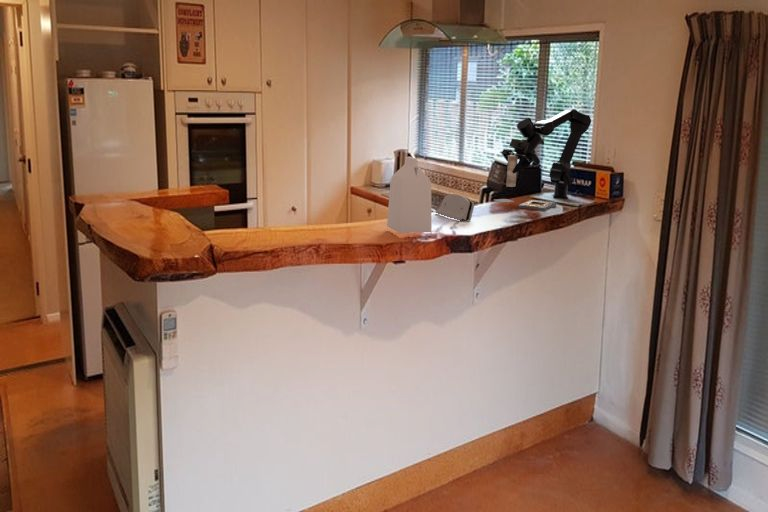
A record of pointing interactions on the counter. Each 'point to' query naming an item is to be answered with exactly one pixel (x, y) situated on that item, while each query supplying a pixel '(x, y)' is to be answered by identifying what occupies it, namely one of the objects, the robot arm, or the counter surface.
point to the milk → (409, 199)
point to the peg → (510, 175)
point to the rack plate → (537, 205)
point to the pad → (503, 200)
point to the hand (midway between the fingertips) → (509, 172)
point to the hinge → (456, 207)
